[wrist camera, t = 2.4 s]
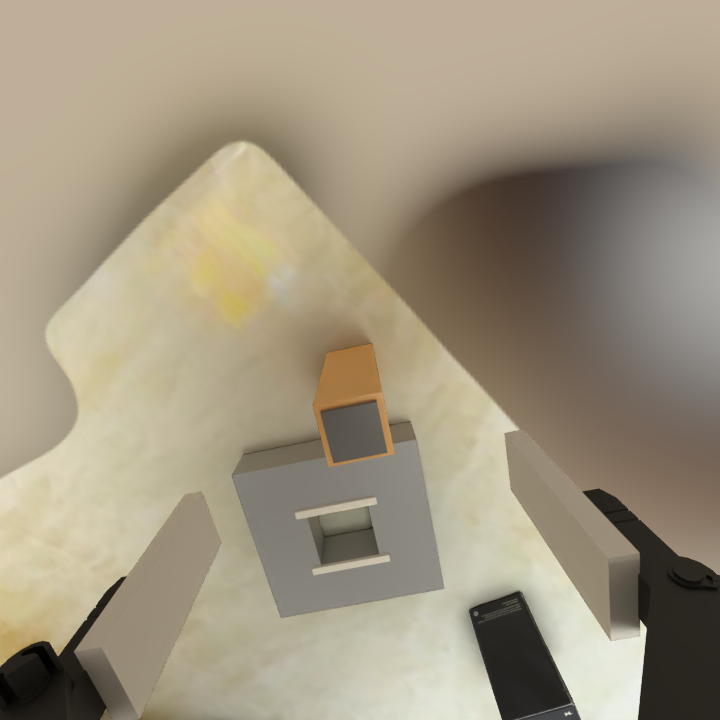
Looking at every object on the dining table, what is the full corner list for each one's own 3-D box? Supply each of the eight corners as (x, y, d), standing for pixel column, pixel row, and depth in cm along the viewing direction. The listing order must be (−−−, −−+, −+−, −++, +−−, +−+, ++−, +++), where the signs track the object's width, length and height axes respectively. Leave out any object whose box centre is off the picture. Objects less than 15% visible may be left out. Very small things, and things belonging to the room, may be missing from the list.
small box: (463, 609, 41) (500, 725, 31) (520, 588, 40) (577, 701, 30) (494, 673, 43) (537, 800, 33) (548, 655, 43) (608, 779, 33)
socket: (287, 587, 39) (280, 620, 36) (243, 454, 35) (230, 477, 32) (436, 559, 39) (445, 591, 35) (410, 421, 35) (417, 441, 31)
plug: (337, 394, 34) (328, 470, 22) (327, 352, 33) (311, 408, 21) (380, 385, 34) (395, 457, 22) (372, 343, 33) (382, 394, 21)
